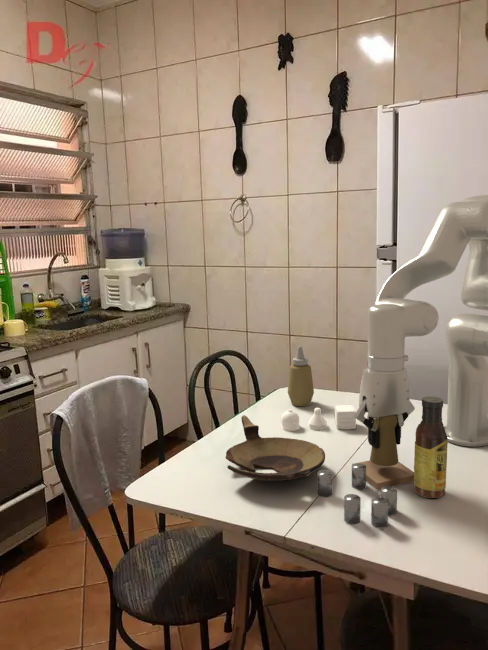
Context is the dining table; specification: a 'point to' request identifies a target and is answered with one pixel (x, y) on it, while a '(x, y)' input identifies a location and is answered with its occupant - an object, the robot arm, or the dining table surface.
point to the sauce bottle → (430, 451)
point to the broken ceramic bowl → (273, 456)
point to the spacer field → (353, 502)
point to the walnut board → (387, 475)
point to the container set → (321, 419)
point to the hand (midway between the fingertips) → (384, 443)
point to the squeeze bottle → (300, 380)
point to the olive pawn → (386, 443)
